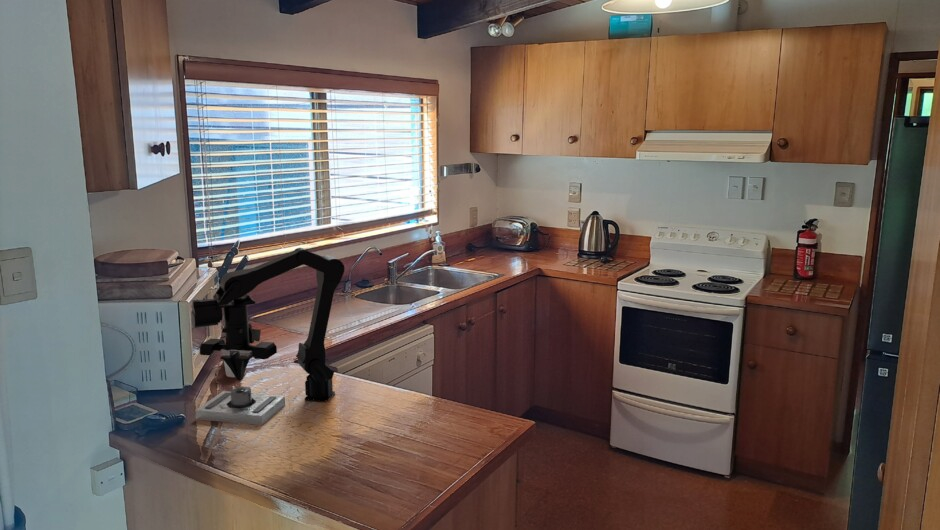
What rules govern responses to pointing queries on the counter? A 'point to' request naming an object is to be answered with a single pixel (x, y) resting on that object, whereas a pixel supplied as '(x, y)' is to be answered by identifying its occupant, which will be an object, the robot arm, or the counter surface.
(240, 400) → the bushing
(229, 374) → the white cylinder
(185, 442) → the counter surface
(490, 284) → the counter surface
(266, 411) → the jig
